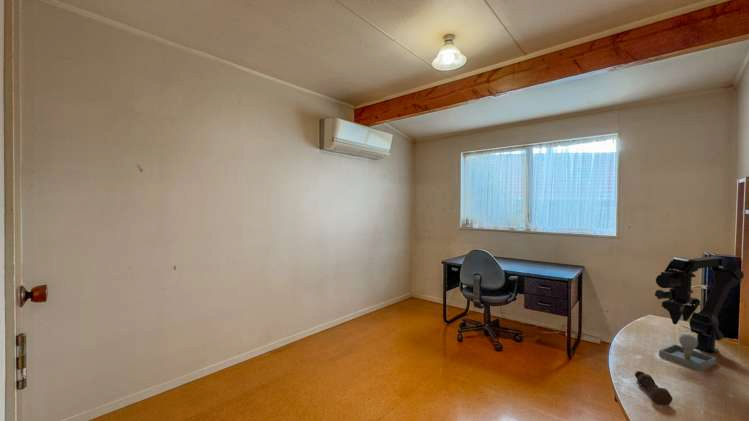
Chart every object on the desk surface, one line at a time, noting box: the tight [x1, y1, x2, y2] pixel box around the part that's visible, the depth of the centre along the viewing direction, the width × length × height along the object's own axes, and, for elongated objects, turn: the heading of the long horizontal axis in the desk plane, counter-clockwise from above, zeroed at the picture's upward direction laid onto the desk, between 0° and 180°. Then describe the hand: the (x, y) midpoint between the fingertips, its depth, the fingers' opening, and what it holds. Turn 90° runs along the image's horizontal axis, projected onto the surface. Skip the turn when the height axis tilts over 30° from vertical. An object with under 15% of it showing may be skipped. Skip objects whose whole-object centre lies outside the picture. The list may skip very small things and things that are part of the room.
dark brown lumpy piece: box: [634, 370, 673, 406], centre depth 111 cm, size 6×5×15 cm
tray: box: [658, 343, 717, 372], centre depth 132 cm, size 13×13×2 cm
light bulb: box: [678, 333, 698, 359], centre depth 132 cm, size 6×6×10 cm
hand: (679, 322), depth 139 cm, fingers open, 9 cm apart
